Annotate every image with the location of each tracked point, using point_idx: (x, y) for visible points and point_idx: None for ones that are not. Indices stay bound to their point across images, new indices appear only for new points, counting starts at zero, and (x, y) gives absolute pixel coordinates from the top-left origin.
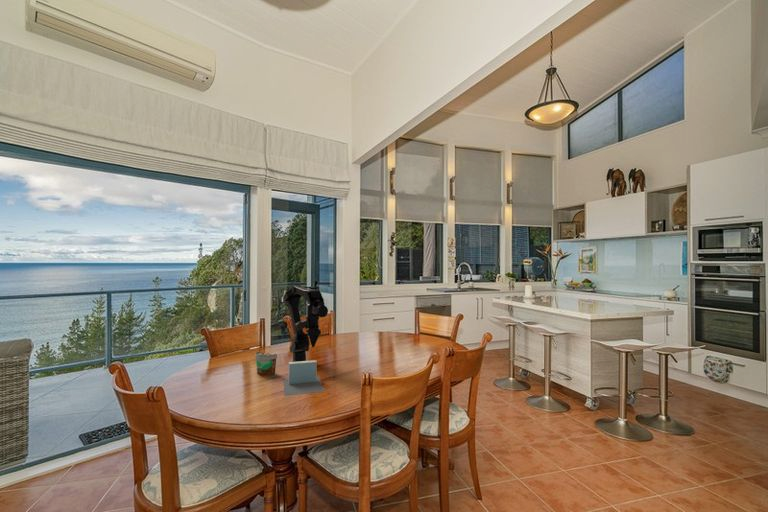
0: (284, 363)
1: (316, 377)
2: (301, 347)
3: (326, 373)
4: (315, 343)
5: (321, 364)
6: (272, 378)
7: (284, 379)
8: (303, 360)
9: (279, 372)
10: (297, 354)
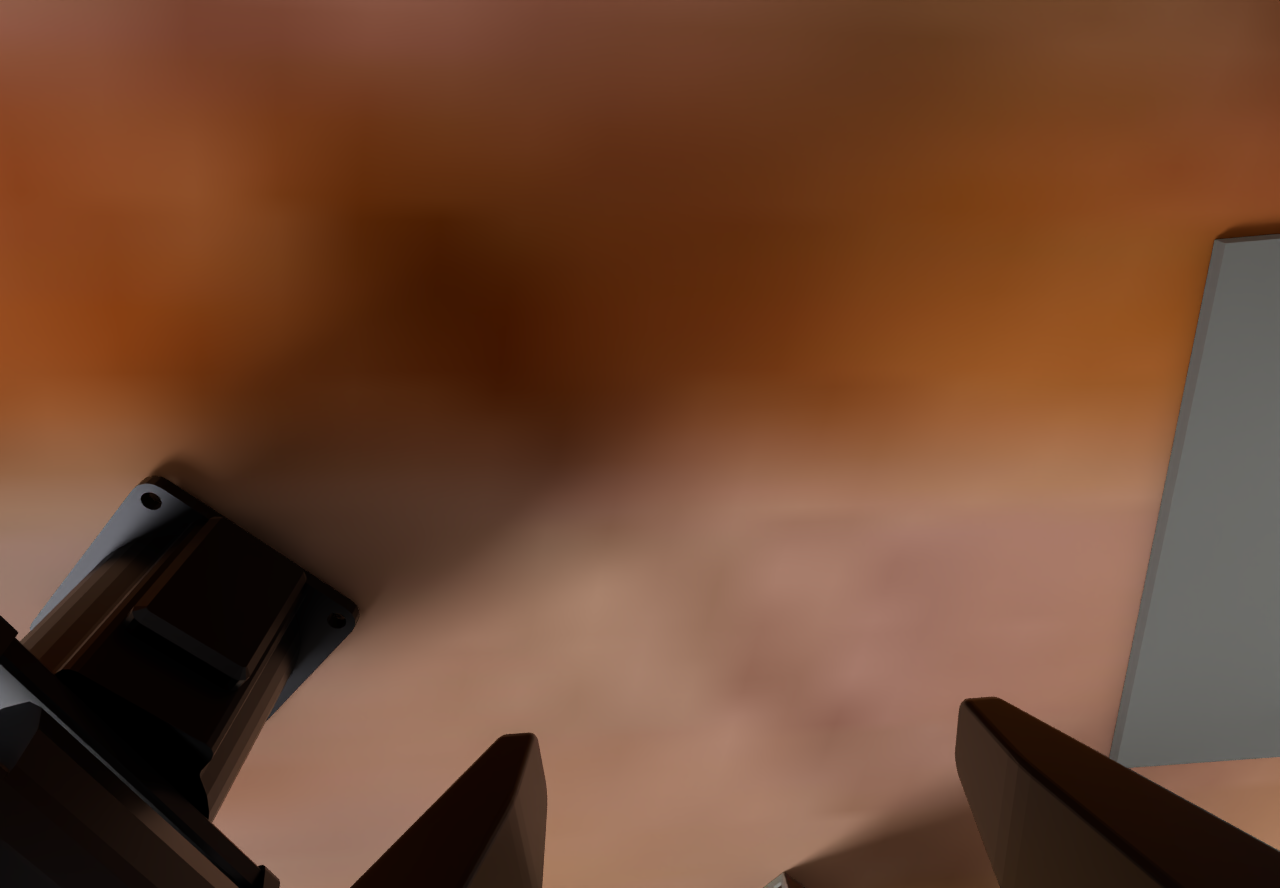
0: (231, 811)
1: (1270, 300)
2: (204, 883)
3: (1022, 69)
4: (1137, 780)
5: (297, 172)
6: (961, 878)
7: (1123, 762)
8: (265, 586)
9: (711, 832)
10: (228, 787)
